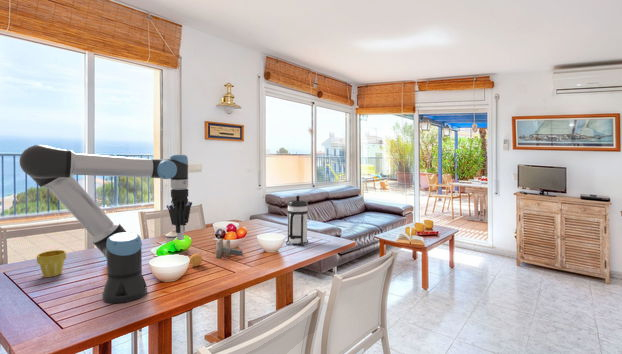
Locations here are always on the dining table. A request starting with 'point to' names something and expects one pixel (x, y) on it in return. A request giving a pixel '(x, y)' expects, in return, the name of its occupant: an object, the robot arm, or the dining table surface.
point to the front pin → (218, 249)
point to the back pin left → (221, 245)
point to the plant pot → (51, 262)
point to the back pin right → (227, 248)
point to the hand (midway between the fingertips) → (180, 239)
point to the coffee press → (297, 221)
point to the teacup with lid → (170, 236)
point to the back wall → (234, 251)
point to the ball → (195, 260)
